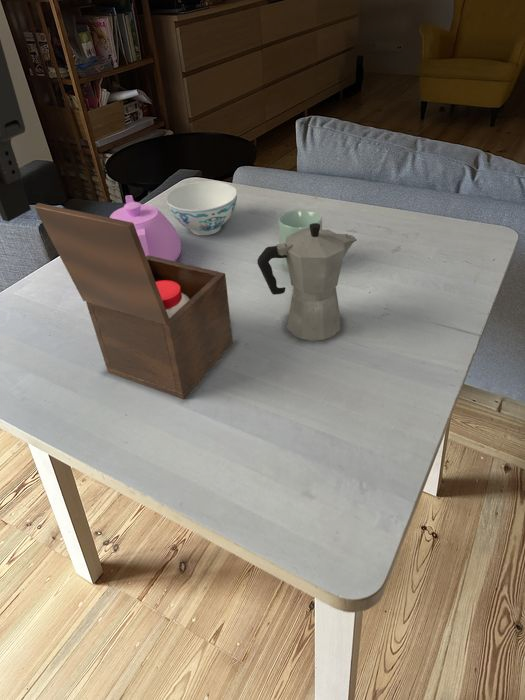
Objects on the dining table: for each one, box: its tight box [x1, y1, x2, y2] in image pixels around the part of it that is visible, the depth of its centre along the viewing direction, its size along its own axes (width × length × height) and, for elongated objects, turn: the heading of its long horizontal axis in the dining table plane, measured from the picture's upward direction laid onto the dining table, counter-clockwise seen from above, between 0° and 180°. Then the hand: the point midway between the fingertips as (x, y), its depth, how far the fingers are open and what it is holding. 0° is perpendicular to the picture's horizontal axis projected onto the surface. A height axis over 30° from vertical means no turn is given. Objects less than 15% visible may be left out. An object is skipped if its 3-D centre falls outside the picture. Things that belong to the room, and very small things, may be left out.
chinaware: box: [165, 180, 238, 236], centre depth 115 cm, size 15×15×8 cm
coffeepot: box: [257, 223, 357, 342], centre depth 82 cm, size 15×9×18 cm, turn 106°
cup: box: [277, 208, 323, 269], centre depth 100 cm, size 8×8×10 cm
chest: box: [85, 255, 234, 400], centre depth 79 cm, size 14×14×13 cm
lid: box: [33, 202, 170, 325], centre depth 65 cm, size 15×14×1 cm
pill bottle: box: [156, 280, 190, 319], centre depth 80 cm, size 8×8×11 cm
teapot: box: [109, 194, 182, 262], centre depth 104 cm, size 22×16×12 cm
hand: (0, 210), depth 50 cm, fingers open, 4 cm apart
